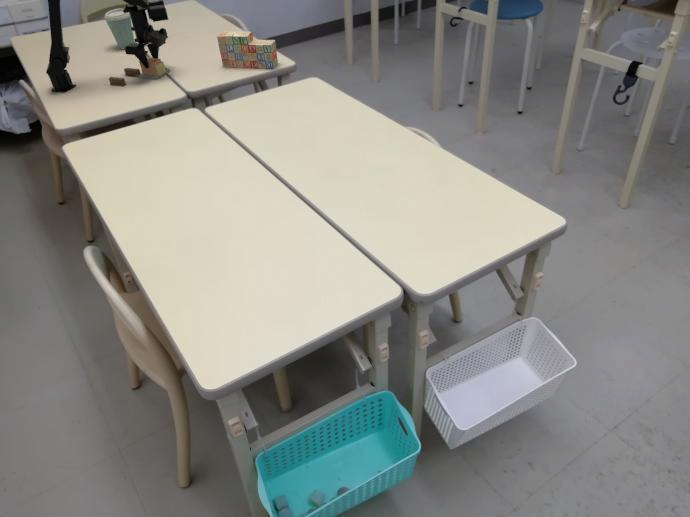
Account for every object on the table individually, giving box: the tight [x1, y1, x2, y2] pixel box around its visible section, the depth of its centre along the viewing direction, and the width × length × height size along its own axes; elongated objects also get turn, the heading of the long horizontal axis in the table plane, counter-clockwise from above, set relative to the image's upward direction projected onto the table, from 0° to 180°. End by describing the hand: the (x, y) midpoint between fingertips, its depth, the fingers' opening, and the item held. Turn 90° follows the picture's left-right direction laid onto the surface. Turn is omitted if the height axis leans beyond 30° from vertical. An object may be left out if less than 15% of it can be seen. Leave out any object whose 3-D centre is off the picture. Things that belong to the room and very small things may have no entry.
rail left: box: [108, 76, 127, 87], centre depth 202 cm, size 2×6×2 cm, turn 72°
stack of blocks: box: [216, 30, 279, 70], centre depth 208 cm, size 21×6×12 cm, turn 78°
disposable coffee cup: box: [104, 7, 136, 50], centre depth 232 cm, size 11×11×15 cm
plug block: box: [138, 57, 166, 76], centre depth 207 cm, size 4×8×5 cm, turn 71°
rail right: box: [123, 67, 142, 78], centre depth 209 cm, size 2×6×2 cm, turn 72°
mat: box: [137, 68, 172, 81], centre depth 209 cm, size 9×9×1 cm
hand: (152, 65), depth 207 cm, fingers open, 6 cm apart
